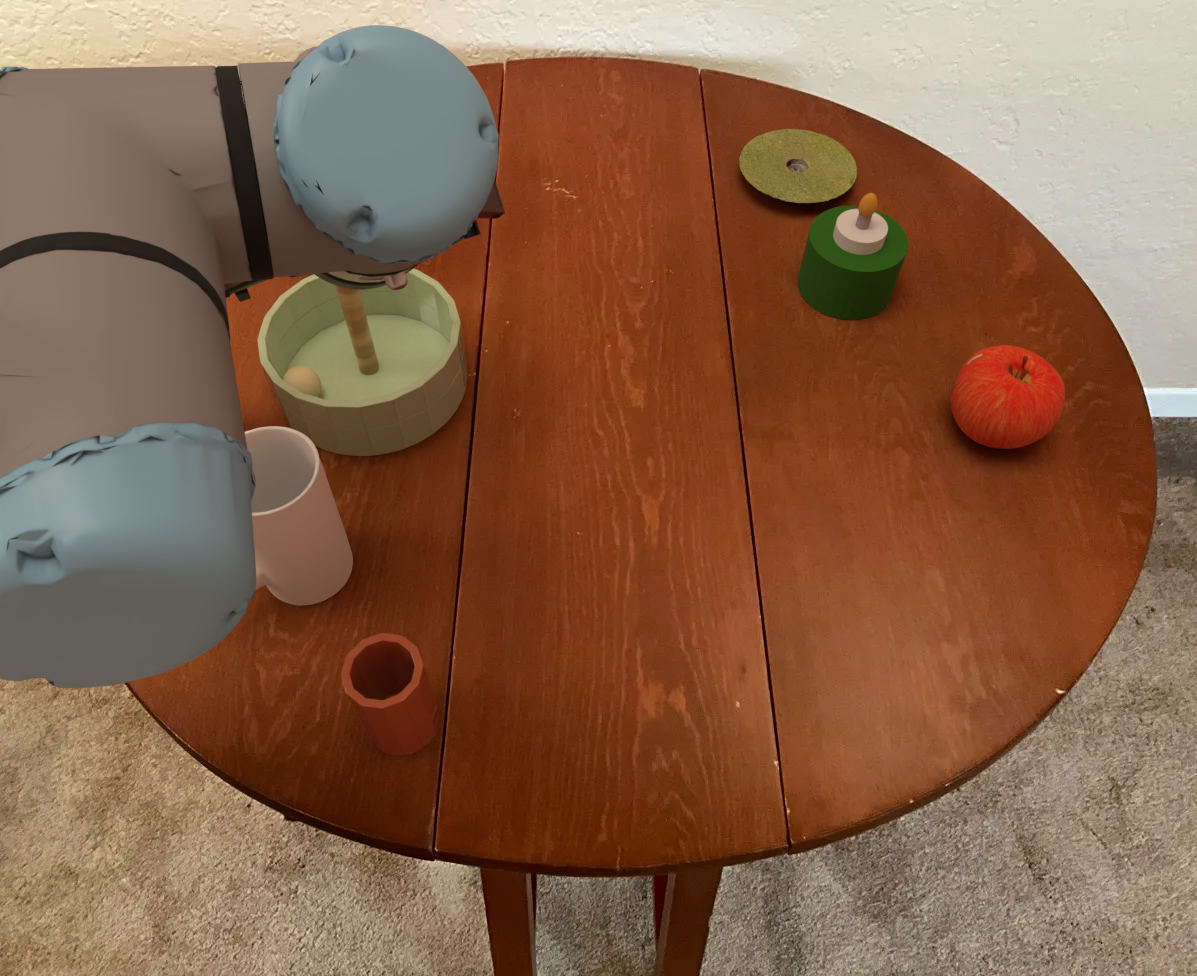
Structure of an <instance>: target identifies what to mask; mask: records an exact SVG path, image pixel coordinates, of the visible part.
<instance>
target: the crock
mask: <svg viewBox="0 0 1197 976" xmlns="http://www.w3.org/2000/svg"><path fill="white" fill-rule="evenodd" d="M340 678H341V682H342V685H343V688H344V692H345V695H346V696H347V699H348V701H349V702H350V704H351V706H352V708H353V710H354V712H355V714H356V715H357V717H358V720H359V722H360V724H361V725H362V728H363V730H364V731H365V733H366V735H367V738H368V739H369V740H370V741H371V742H372V744H373V745H374V746H375V747H376V748H377V749H378V750H380V751H381V752H383V753H385V754H388V755H391V756H398V757H399V756H400V757H401V756H408V755H411V754H415V753H417V752H419V751H420V750H422V749H423V748H425V747H426V746H427V745H429V743H430V742H431V741H432V740H433V739H434V737H435V735H436V733H437V731H438V728H439V723H440V711H439V707H438V705H437V702H436V698H435V695H434V692H433V689H432V686H431V683H430V680H429V677H428V674H427V670H426V667H425V665H424V662H423V659H422V655H421V653H420V650H419V647H418V645H416V644H414V642H412V641H410V640H409V639H408V638H407V637H405V636H404V635H401V634H393V633H384V632H381V633H378V634H374V635H372V636H369V637H366V638H364V639H362V640H360V641H359V642H358V643H357V644H356V645H355V646H354V647H353V649H351V650H350V651H349V652H348V653H347V655H346V656H345V660H344V662H343V665H342V670H341V672H340Z"/></svg>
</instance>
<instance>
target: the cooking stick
mask: <svg viewBox="0 0 1197 976" xmlns="http://www.w3.org/2000/svg"><path fill="white" fill-rule="evenodd" d="M335 286H336V285H335ZM336 290H337V293H338V297H339V300H340V304H341V307H342V311H343V314H344V317H345V321H346V324H347V328H348V331H349V335H350V338H351V342H352V345H353V349H354V352H355V356H356V359H357V362H358V366H359V369H360V372H361V373H362V374H364V375H372V374H375V373H376V372H377V371H378V370H379V363H378V359H377V355H376V352H375V348H374V344H373V340H372V336H371V333H370V329H369V325H368V321H367V317H366V313H365V310H364V306H363V302H362V298H361V294H360V291H359V290H357V289H348V288H343V287H339V286H336Z"/></svg>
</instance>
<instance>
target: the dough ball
mask: <svg viewBox="0 0 1197 976" xmlns="http://www.w3.org/2000/svg"><path fill="white" fill-rule="evenodd" d="M282 380H284V381H285V382H287V383H288V384H290V385H291V386H293V387H294V388H295V389H297V390H298V391H300V392H301V393H305V394H308V395H311V396H315V397H318V396H319V394H320V392H321V380H320V378H319V376H318V374H317V373H316V372H315V371H314V370H312V369H311V368H308V367H305V366H297V367H293V368H291V369H290V370H288V371H287V372H286V373H285V375H284V376H283V379H282Z"/></svg>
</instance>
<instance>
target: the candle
mask: <svg viewBox="0 0 1197 976" xmlns="http://www.w3.org/2000/svg"><path fill="white" fill-rule="evenodd" d="M878 204H879V203H878V197H877V195H876V194H875V193H873V192H870V193H869V192H868V193H867V194H865V195H864V196H863V197H861V200H860V201H859V204H858V205H841V206H835V207H832V208H829V209H826V210H824V211H822V212H821V213H819V214H818V215H817V216H816V217H815V218H814V219H813V221H812V222H811V224H810V227H809V230H808V234H807V238H806V243H805V246H804V251H803V254H802V259H801V262H800V267H799V271H798V274H797V282H796V283H797V288H798V291H799V293H800V296H801V297H802V298H803V300H804V301H805V303H807V305H808V306H810V307H812V309H814V310H816V311H818V313H821V314H823V315H825V316H827V317H831V318H835V319H839V320H847V321H854V320H855V321H857V320H862V319H863V320H864V319H867V318H871V317H874V316H876V315H877V314H879V313H881V312H883V310H884V309H885V308H887V306H888V305H889V303H890V301H891V298H892V295H893V293H894V290H895V287H896V284H897V281H898V279H899V275H900V273H901V270H902V267H903V264H904V262H905V259H906V256H907V253H908V251H909V239H908V236H907V233H906V231H905V230H904V228H903V226H901V225H900V223H899V222H898V221H897V220H895V219H894V218H893V217H891V216H889V215H888V214H886V213H884V212H882V211H879V210H877V208H878Z"/></svg>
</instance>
